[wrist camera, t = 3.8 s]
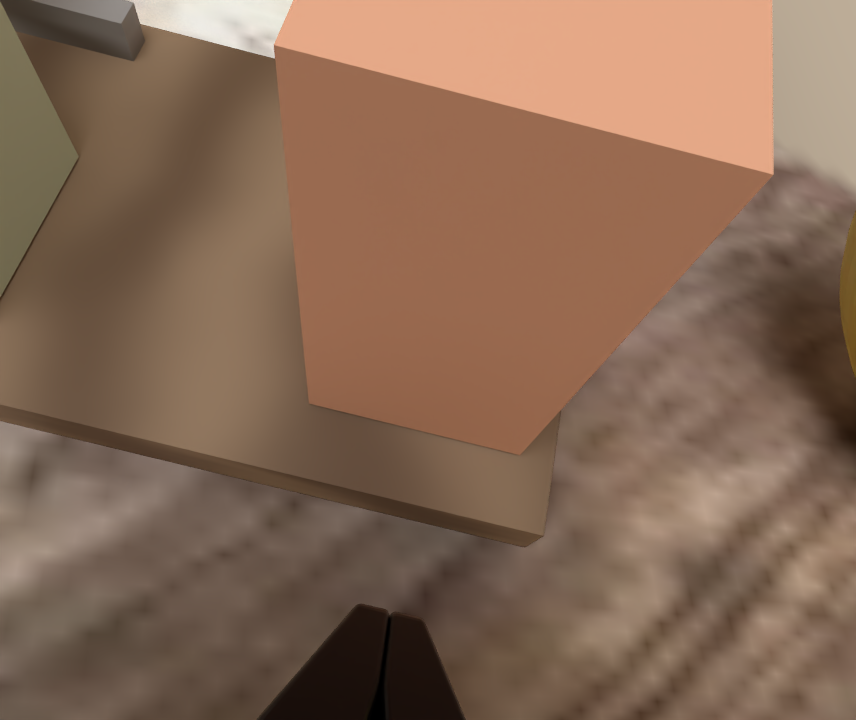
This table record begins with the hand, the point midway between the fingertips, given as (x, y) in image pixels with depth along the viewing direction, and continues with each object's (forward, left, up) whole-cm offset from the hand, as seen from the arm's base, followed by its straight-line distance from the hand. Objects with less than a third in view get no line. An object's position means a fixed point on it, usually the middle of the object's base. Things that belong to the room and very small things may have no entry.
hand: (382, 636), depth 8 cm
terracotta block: (+3, -8, -9) cm, 12 cm away
